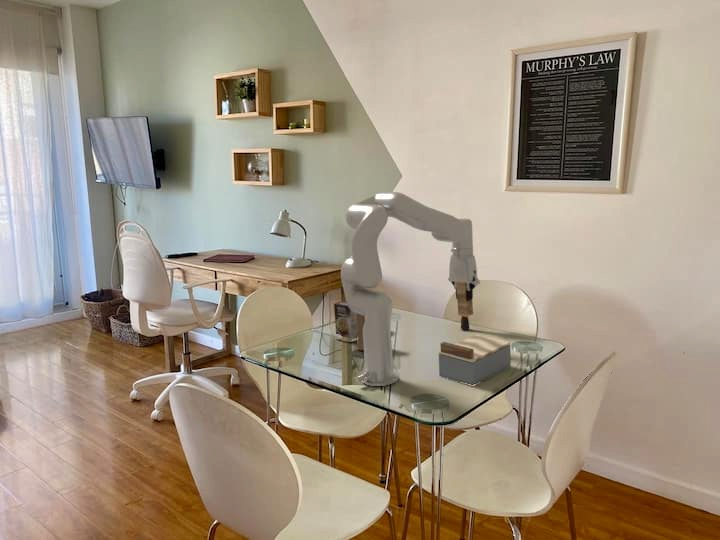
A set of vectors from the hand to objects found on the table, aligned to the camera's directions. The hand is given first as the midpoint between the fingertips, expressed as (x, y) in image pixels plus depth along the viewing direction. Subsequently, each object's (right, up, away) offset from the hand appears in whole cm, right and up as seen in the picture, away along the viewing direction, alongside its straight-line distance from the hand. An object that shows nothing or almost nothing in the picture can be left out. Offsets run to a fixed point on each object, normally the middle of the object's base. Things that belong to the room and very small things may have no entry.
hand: (464, 298), depth 206 cm
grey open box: (0, -24, -18) cm, 30 cm away
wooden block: (-35, -21, +11) cm, 43 cm away
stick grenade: (+6, -15, +28) cm, 32 cm away
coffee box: (-45, -19, +25) cm, 55 cm away
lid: (0, -16, -20) cm, 26 cm away
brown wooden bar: (+1, -6, +2) cm, 6 cm away
